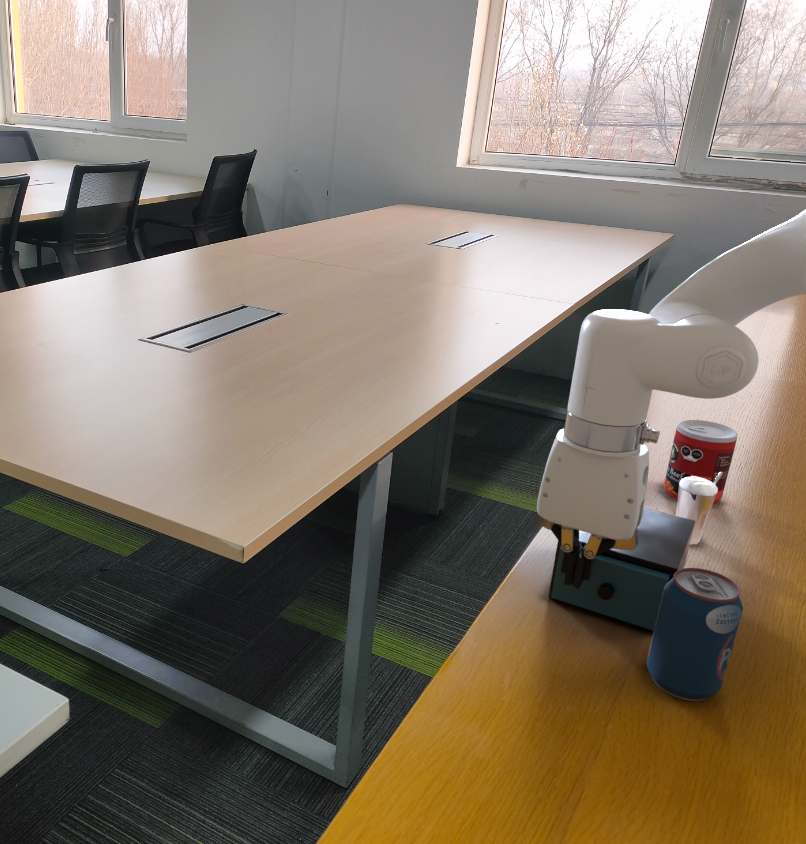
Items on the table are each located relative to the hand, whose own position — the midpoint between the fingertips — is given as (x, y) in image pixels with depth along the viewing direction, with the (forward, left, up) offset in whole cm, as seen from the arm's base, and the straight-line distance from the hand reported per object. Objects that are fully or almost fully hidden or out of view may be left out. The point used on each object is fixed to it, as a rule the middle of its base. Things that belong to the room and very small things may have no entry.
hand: (574, 581), depth 90 cm
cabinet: (-7, -9, -6) cm, 13 cm away
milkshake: (-19, -25, -6) cm, 32 cm away
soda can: (-10, +8, -6) cm, 14 cm away
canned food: (-23, -40, -6) cm, 46 cm away
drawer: (-6, -7, -5) cm, 10 cm away
